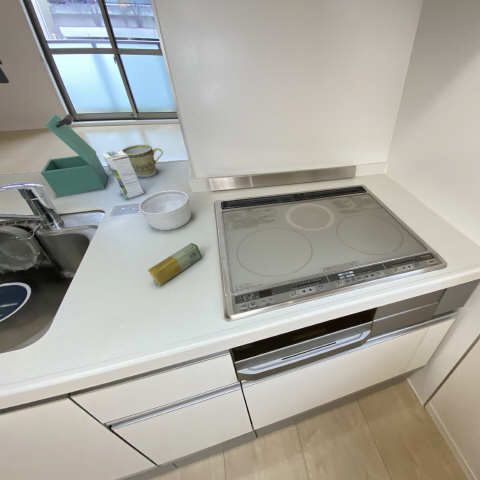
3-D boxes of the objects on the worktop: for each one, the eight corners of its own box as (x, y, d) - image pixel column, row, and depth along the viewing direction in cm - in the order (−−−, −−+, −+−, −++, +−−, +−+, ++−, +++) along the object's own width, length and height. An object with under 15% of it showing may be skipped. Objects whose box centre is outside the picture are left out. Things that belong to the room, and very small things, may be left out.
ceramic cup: (131, 181, 99) (119, 155, 92) (134, 170, 105) (122, 146, 99) (169, 175, 103) (160, 151, 97) (169, 165, 110) (160, 142, 103)
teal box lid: (44, 125, 77) (61, 116, 78) (53, 115, 85) (68, 107, 86) (89, 165, 88) (104, 157, 88) (94, 152, 96) (107, 146, 96)
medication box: (196, 254, 69) (191, 242, 67) (203, 257, 68) (198, 245, 66) (153, 282, 61) (146, 269, 59) (160, 286, 60) (153, 273, 58)
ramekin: (145, 237, 74) (135, 217, 69) (150, 212, 83) (141, 193, 79) (195, 228, 78) (188, 208, 73) (194, 205, 87) (188, 187, 83)
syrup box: (121, 193, 92) (100, 153, 82) (139, 187, 95) (120, 148, 86) (127, 199, 89) (106, 158, 80) (145, 193, 92) (127, 153, 83)
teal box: (57, 196, 89) (40, 172, 83) (64, 182, 96) (49, 159, 91) (104, 188, 94) (91, 165, 88) (107, 175, 102) (95, 153, 96)
